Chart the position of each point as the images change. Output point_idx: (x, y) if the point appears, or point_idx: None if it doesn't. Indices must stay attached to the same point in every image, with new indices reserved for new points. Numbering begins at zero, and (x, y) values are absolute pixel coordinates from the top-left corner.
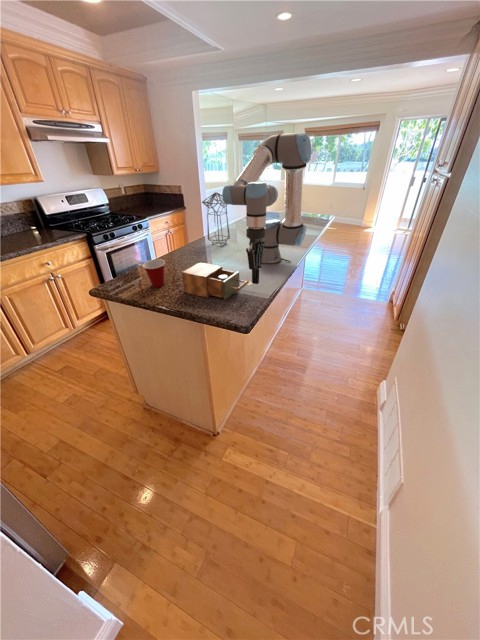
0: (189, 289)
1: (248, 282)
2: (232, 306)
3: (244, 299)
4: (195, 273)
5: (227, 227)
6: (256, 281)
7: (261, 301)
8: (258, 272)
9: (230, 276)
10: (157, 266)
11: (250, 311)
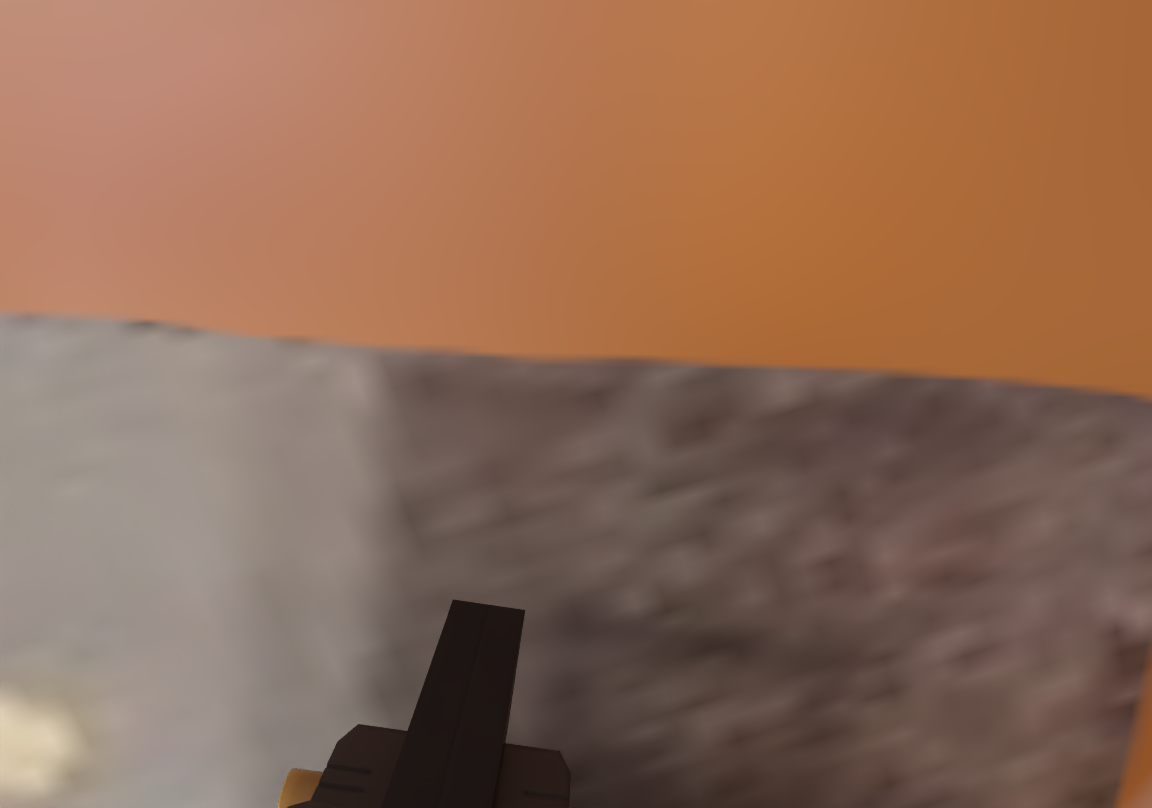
0: None
1: (304, 777)
2: (764, 732)
3: (526, 653)
4: None
5: None
6: (516, 664)
7: (506, 417)
8: (444, 774)
9: None
10: None
11: (838, 480)
